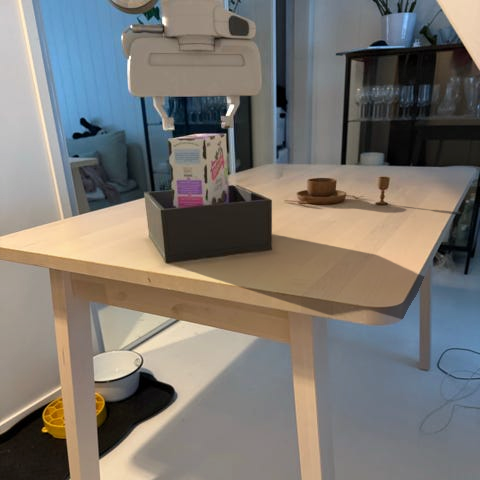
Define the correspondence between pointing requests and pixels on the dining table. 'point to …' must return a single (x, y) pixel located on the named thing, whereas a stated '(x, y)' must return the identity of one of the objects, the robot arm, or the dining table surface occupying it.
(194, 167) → the candy box
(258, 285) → the dining table surface
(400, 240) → the dining table surface
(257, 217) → the dark storage bin
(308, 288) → the dining table surface
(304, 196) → the place setting
